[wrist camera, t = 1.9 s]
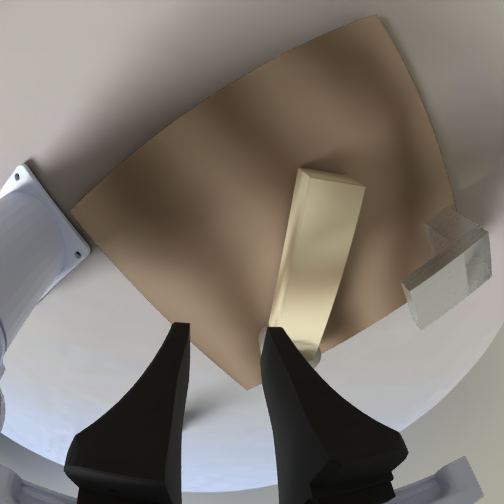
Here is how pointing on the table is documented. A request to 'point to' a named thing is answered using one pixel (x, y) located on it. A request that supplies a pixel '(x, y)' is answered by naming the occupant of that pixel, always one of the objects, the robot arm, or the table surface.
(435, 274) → the block
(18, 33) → the table surface
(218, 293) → the base board
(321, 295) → the link
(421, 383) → the table surface
